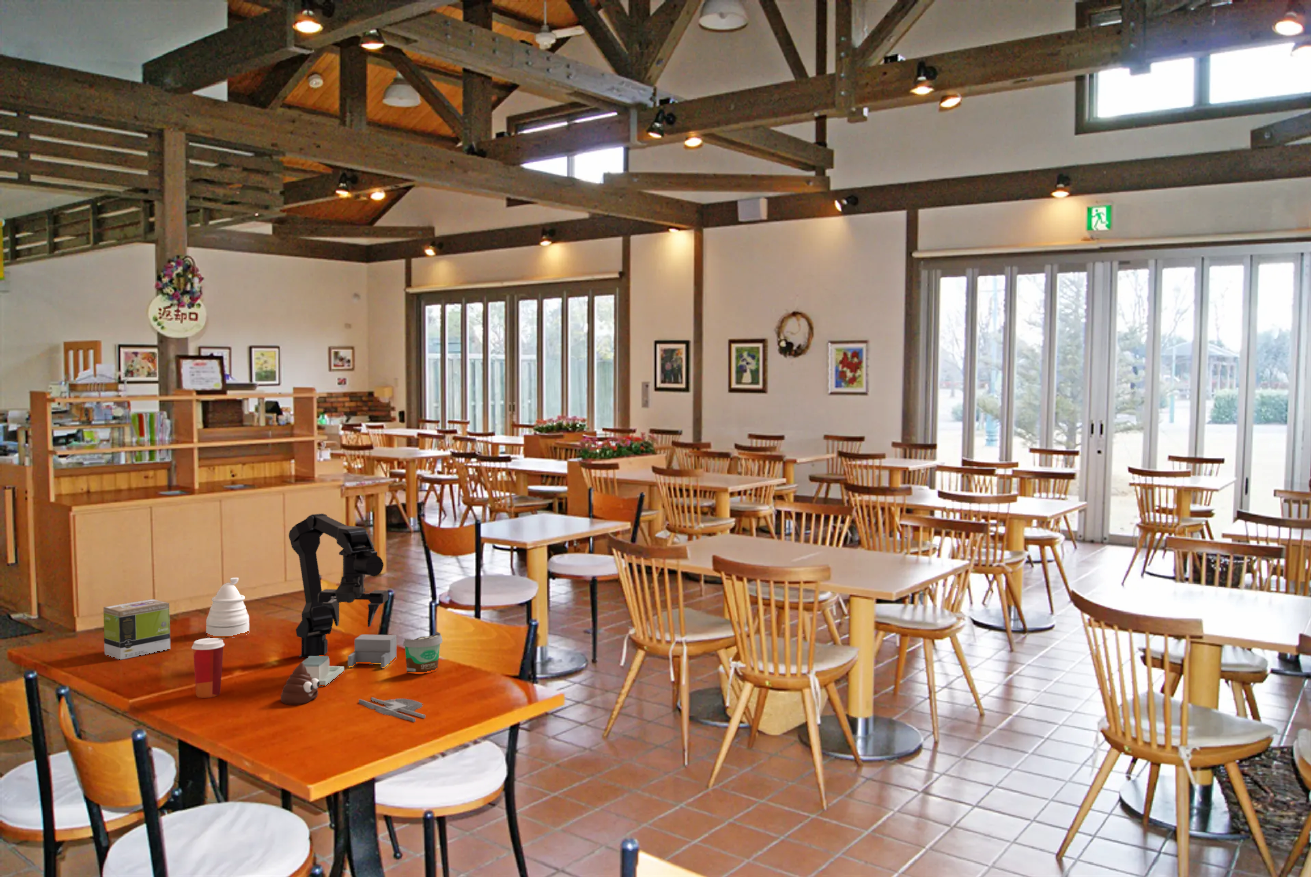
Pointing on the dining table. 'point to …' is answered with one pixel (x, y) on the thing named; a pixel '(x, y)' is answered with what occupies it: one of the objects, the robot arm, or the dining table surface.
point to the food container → (422, 653)
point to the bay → (374, 649)
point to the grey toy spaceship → (395, 707)
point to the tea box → (136, 628)
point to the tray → (332, 674)
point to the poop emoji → (299, 687)
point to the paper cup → (208, 666)
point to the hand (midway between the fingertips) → (353, 626)
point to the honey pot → (227, 612)
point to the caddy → (317, 666)
